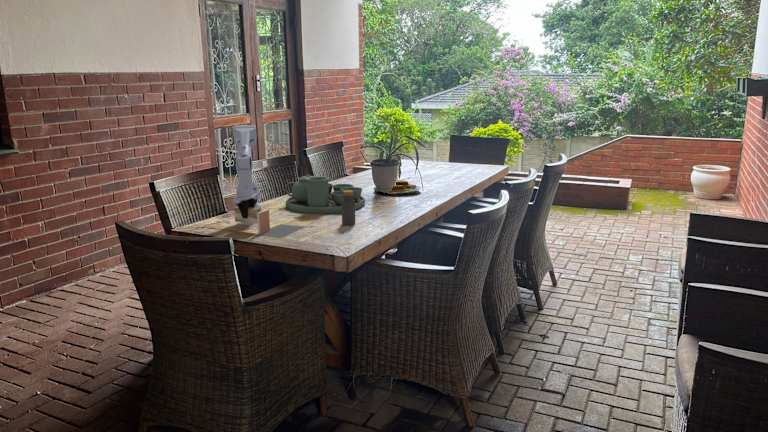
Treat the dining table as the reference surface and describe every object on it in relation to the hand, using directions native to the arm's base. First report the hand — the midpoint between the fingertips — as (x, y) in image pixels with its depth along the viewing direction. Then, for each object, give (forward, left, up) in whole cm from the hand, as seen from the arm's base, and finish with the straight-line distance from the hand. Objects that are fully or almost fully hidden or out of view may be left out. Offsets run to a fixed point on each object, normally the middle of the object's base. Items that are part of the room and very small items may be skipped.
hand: (247, 217), depth 253 cm
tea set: (-61, +4, -7) cm, 61 cm away
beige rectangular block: (0, 0, -2) cm, 2 cm away
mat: (-5, +13, -6) cm, 15 cm away
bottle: (-28, +33, -7) cm, 44 cm away
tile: (0, +8, -6) cm, 10 cm away
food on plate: (-108, +26, -7) cm, 111 cm away
